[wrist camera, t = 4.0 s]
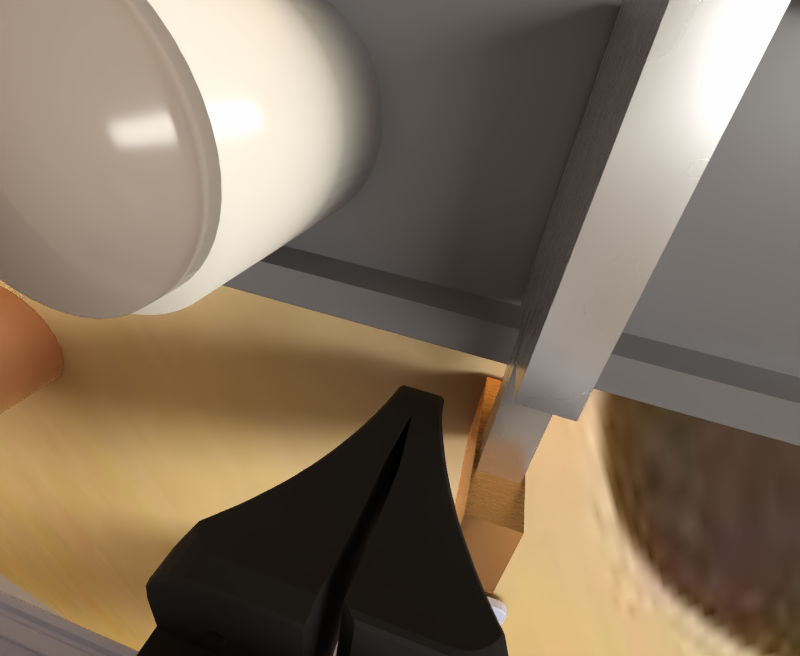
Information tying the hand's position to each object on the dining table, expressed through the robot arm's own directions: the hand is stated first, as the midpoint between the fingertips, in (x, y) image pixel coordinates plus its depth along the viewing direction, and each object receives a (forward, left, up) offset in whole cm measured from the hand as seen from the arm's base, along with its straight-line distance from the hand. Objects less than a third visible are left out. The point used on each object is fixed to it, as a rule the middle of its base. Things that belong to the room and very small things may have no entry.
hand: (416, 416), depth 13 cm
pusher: (+5, -2, -1) cm, 5 cm away
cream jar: (+7, +5, -1) cm, 9 cm away
